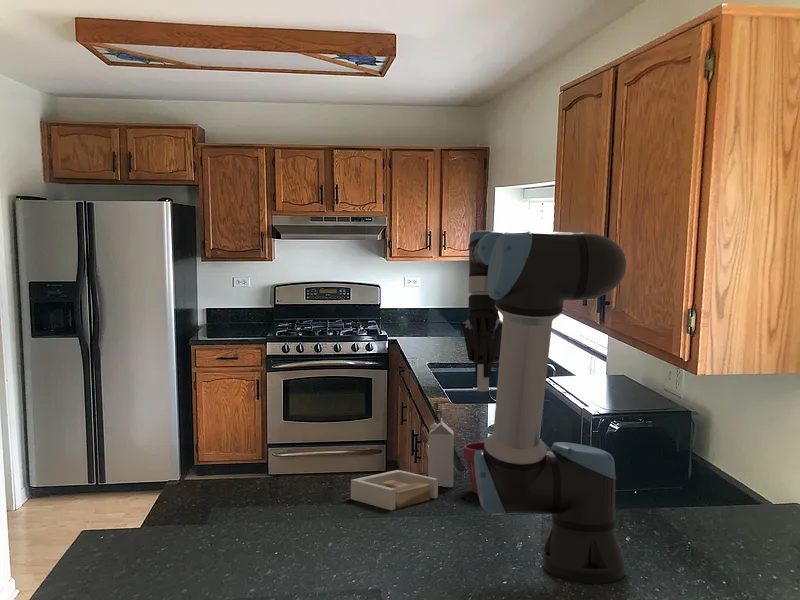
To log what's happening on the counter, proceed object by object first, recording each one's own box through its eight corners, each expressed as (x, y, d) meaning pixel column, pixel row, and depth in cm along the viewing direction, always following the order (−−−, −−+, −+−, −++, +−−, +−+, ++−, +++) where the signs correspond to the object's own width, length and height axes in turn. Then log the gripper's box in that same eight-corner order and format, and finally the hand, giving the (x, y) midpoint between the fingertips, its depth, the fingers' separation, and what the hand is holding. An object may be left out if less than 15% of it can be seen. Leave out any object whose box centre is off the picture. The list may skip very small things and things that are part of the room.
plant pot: (455, 494, 178) (456, 447, 179) (472, 483, 191) (473, 440, 191) (506, 501, 172) (507, 452, 173) (520, 489, 185) (520, 444, 185)
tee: (429, 499, 173) (430, 484, 173) (398, 508, 164) (399, 492, 164) (402, 492, 180) (402, 477, 180) (371, 500, 171) (371, 484, 171)
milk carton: (453, 482, 193) (453, 417, 194) (452, 487, 186) (453, 421, 187) (429, 481, 194) (430, 417, 194) (427, 486, 186) (428, 420, 187)
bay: (437, 497, 175) (438, 478, 175) (391, 510, 162) (391, 490, 162) (397, 487, 185) (397, 469, 185) (350, 498, 172) (350, 479, 172)
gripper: (514, 294, 158) (514, 392, 157) (472, 295, 167) (471, 388, 166) (497, 293, 153) (496, 394, 151) (453, 294, 161) (452, 389, 160)
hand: (483, 390), depth 159 cm, fingers closed
